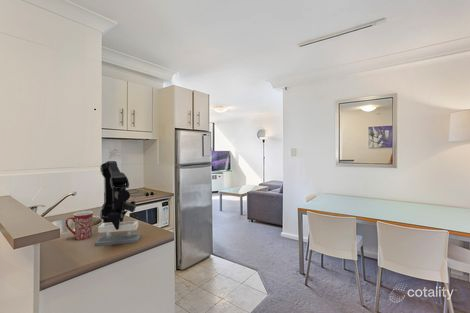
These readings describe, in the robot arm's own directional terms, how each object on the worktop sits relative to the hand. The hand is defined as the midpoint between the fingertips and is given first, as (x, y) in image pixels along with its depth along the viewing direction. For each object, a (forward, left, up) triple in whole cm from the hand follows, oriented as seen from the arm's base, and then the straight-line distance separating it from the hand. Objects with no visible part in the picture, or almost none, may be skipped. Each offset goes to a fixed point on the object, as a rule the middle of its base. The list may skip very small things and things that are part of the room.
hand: (119, 227), depth 120 cm
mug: (-9, -22, -7) cm, 25 cm away
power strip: (0, 0, -1) cm, 1 cm away
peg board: (0, 0, -7) cm, 7 cm away
